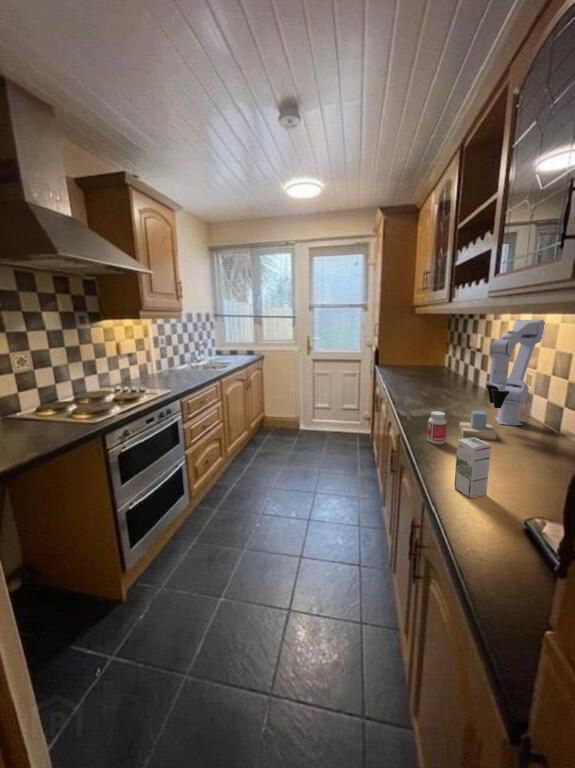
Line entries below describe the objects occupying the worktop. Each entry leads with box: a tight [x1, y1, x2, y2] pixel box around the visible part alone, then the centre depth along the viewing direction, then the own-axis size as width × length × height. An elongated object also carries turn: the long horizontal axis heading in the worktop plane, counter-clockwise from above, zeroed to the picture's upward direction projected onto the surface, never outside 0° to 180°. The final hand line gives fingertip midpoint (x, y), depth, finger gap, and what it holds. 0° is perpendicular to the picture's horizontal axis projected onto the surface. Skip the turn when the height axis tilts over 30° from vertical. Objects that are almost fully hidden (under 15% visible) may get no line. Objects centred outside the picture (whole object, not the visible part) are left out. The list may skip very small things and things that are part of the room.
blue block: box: [470, 409, 488, 430], centre depth 130 cm, size 4×4×6 cm
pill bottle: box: [426, 410, 447, 445], centre depth 123 cm, size 6×6×11 cm
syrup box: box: [453, 437, 492, 498], centre depth 89 cm, size 6×6×14 cm
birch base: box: [458, 421, 498, 441], centre depth 131 cm, size 11×11×2 cm
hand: (495, 405), depth 131 cm, fingers open, 7 cm apart
